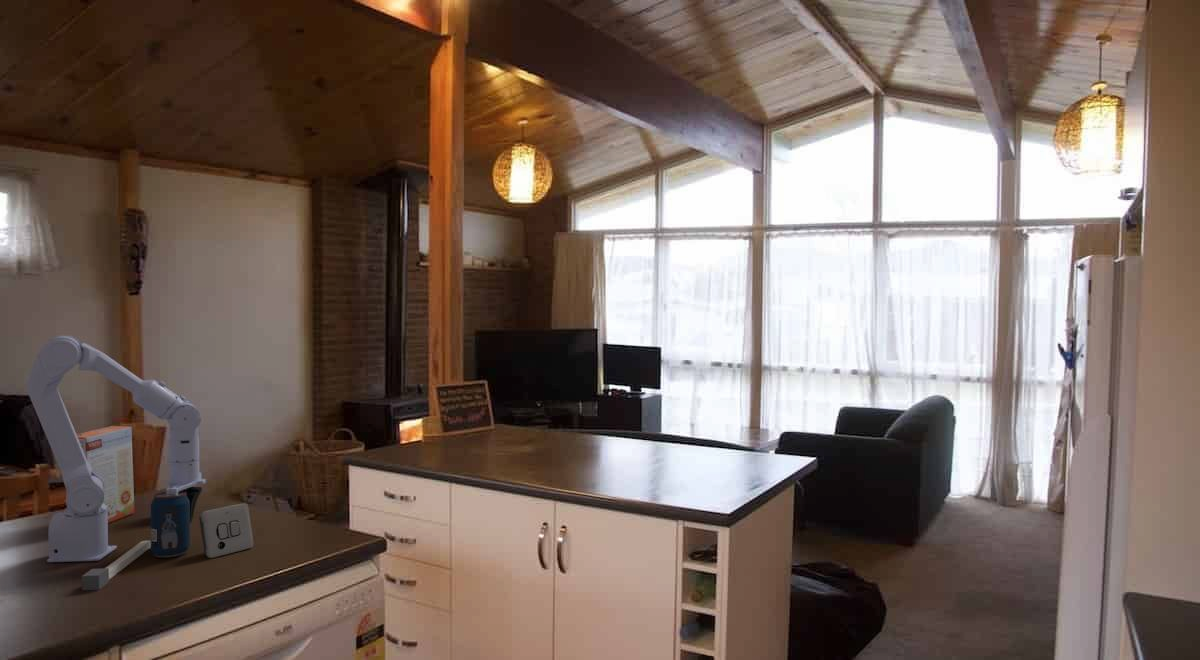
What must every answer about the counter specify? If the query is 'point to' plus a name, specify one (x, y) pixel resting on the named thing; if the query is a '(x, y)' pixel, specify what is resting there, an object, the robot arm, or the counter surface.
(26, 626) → the counter surface
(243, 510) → the electrical switch
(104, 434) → the cracker box
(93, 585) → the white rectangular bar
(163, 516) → the soda can
